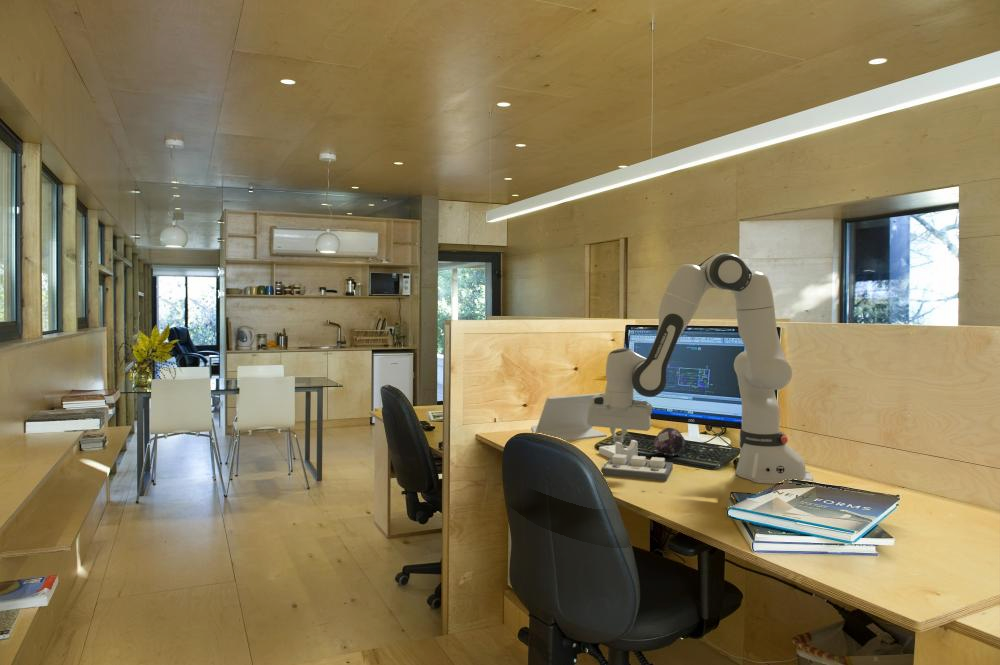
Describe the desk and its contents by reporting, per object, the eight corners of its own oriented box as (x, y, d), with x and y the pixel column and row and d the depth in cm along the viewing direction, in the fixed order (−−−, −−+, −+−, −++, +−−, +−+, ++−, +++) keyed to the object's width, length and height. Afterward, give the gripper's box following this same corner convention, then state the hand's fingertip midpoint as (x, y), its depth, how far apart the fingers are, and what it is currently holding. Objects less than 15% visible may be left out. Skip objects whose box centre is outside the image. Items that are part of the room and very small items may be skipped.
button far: (627, 462, 228) (627, 454, 228) (624, 465, 224) (624, 458, 224) (614, 461, 229) (614, 453, 229) (612, 464, 226) (612, 456, 226)
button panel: (672, 471, 226) (672, 461, 226) (666, 484, 213) (666, 473, 213) (611, 466, 234) (611, 456, 233) (601, 477, 221) (601, 467, 220)
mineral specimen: (645, 447, 250) (655, 421, 251) (670, 457, 253) (680, 431, 253) (658, 453, 241) (668, 426, 241) (683, 463, 243) (694, 436, 244)
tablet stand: (607, 436, 276) (607, 393, 275) (550, 443, 267) (550, 398, 265) (585, 427, 293) (585, 386, 291) (530, 433, 283) (530, 391, 282)
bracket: (637, 463, 238) (637, 441, 237) (619, 466, 235) (619, 443, 234) (616, 454, 250) (616, 433, 249) (599, 456, 247) (599, 435, 246)
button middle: (645, 464, 226) (645, 456, 226) (643, 467, 222) (643, 459, 222) (633, 463, 227) (633, 455, 227) (630, 466, 224) (630, 458, 223)
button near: (664, 465, 224) (664, 458, 223) (663, 469, 220) (663, 461, 220) (652, 464, 225) (652, 457, 225) (650, 467, 221) (650, 460, 221)
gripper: (653, 399, 224) (652, 442, 225) (590, 395, 232) (589, 436, 233) (650, 403, 218) (649, 447, 220) (586, 398, 226) (585, 441, 227)
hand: (618, 441), depth 226 cm, fingers closed
